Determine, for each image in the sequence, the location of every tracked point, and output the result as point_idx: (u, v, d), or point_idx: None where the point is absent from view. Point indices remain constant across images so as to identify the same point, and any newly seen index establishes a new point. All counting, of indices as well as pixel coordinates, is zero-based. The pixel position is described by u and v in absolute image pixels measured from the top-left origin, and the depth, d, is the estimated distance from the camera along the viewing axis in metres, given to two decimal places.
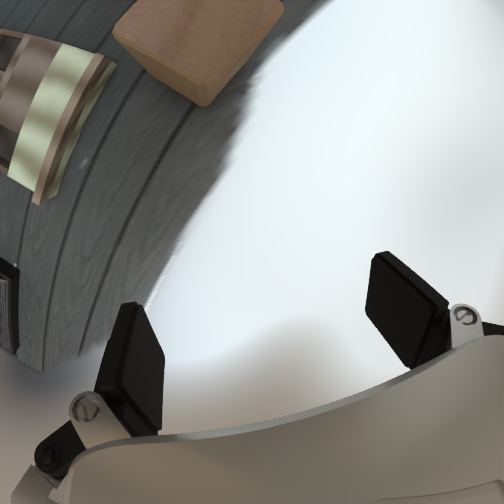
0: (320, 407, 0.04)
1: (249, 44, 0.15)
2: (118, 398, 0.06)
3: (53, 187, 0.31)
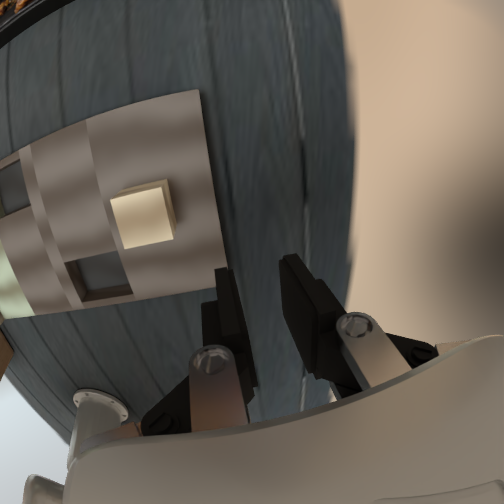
0: (320, 407, 0.04)
1: None
2: (239, 348, 0.07)
3: None
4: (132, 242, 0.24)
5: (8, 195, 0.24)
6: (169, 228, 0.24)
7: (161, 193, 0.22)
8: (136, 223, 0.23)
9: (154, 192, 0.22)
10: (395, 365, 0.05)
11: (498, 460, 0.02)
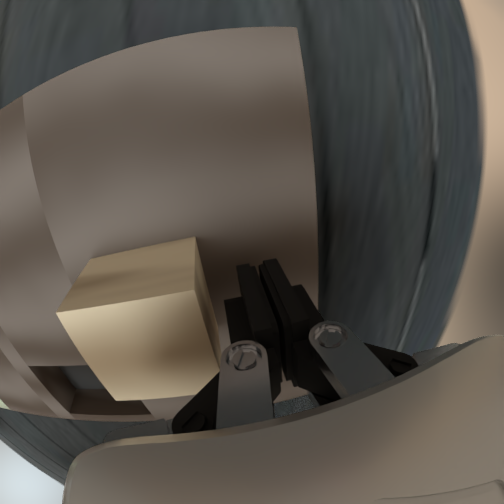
0: (320, 407, 0.04)
1: None
2: (269, 343, 0.07)
3: None
4: (130, 393, 0.09)
5: None
6: None
7: (195, 306, 0.08)
8: (133, 364, 0.08)
9: (173, 302, 0.08)
10: (367, 379, 0.05)
11: (498, 460, 0.02)
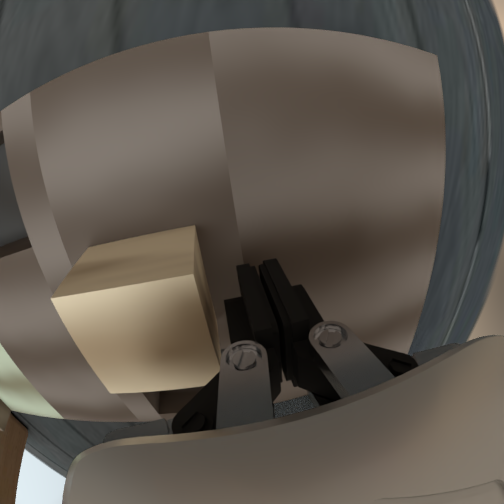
0: (320, 407, 0.04)
1: None
2: (269, 343, 0.07)
3: None
4: (125, 385, 0.09)
5: None
6: (215, 366, 0.09)
7: (194, 291, 0.08)
8: (128, 354, 0.08)
9: (171, 287, 0.07)
10: (367, 379, 0.05)
11: (498, 460, 0.02)
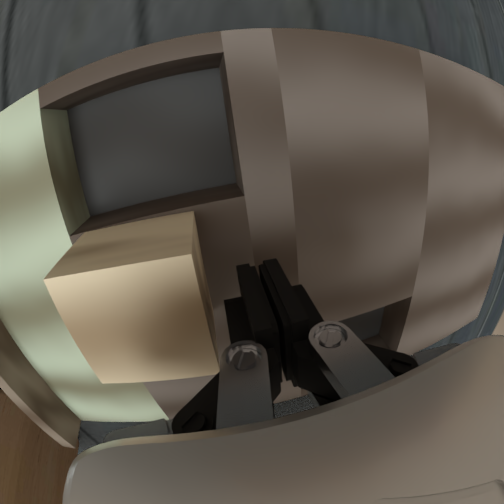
0: (320, 407, 0.04)
1: None
2: (269, 343, 0.07)
3: None
4: (117, 375, 0.09)
5: (108, 165, 0.12)
6: (212, 355, 0.09)
7: (191, 273, 0.07)
8: (121, 340, 0.08)
9: (168, 268, 0.07)
10: (367, 379, 0.05)
11: (498, 460, 0.02)
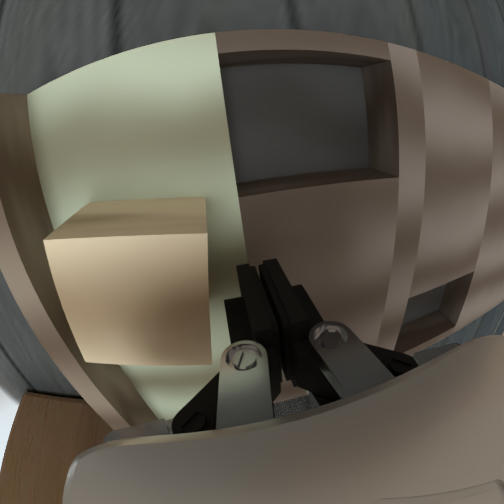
0: (320, 407, 0.04)
1: None
2: (269, 343, 0.07)
3: None
4: (104, 354, 0.08)
5: (258, 134, 0.13)
6: (207, 343, 0.09)
7: (203, 253, 0.07)
8: (115, 317, 0.08)
9: (180, 244, 0.07)
10: (367, 379, 0.05)
11: (498, 460, 0.02)
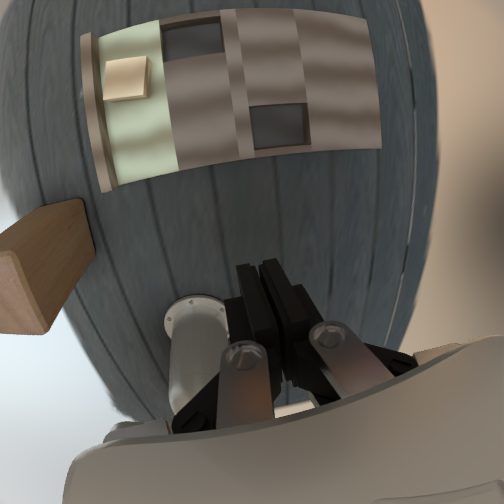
0: (320, 407, 0.04)
1: None
2: (269, 343, 0.07)
3: None
4: (110, 94, 0.24)
5: (176, 50, 0.28)
6: (142, 86, 0.24)
7: (145, 60, 0.23)
8: (119, 79, 0.23)
9: (140, 58, 0.22)
10: (367, 379, 0.05)
11: (498, 460, 0.02)
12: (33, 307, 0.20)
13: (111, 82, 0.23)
